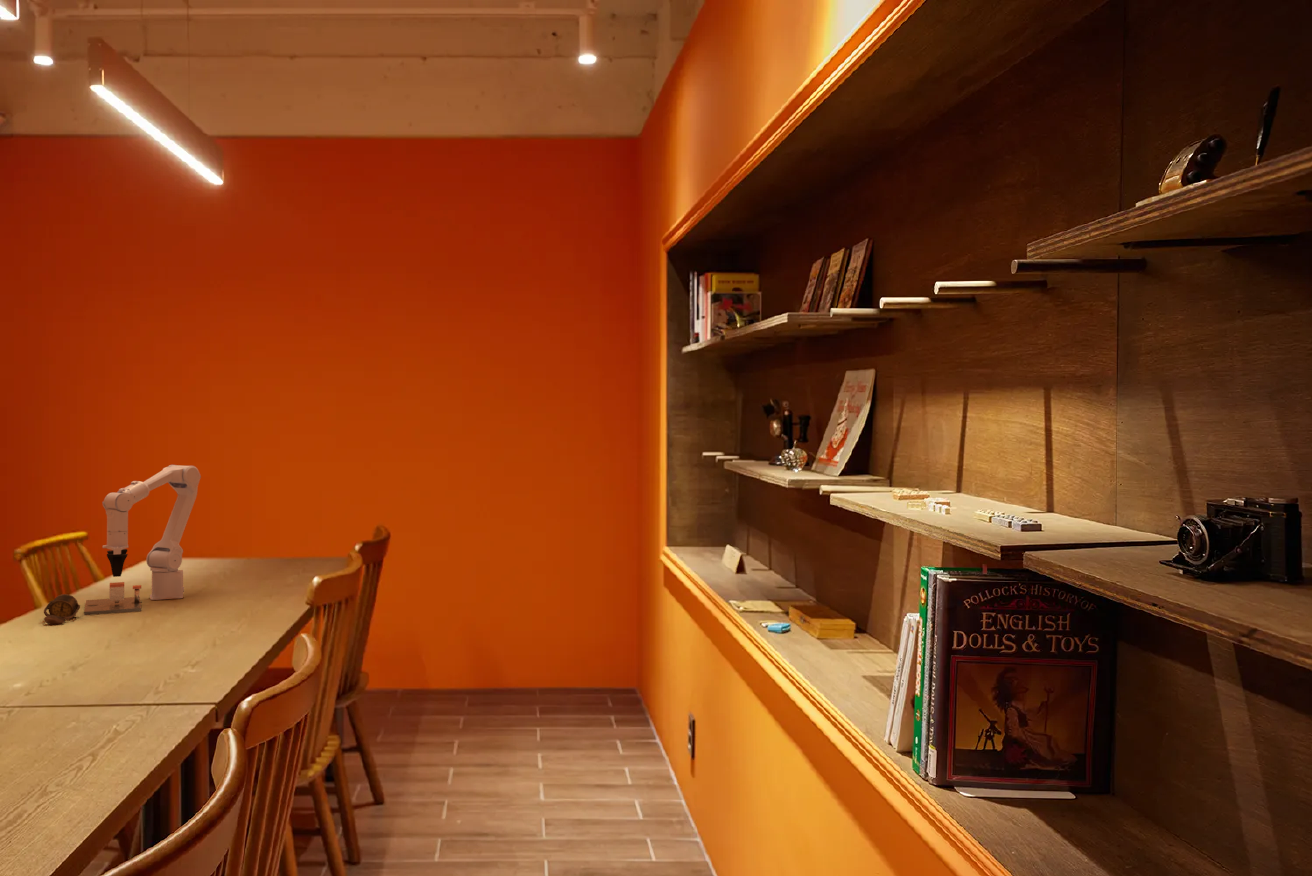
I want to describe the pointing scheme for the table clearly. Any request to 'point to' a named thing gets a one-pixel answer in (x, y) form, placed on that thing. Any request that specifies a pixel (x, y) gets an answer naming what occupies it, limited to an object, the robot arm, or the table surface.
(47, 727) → the table surface
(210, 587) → the table surface
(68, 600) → the dark brown rounded piece
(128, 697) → the table surface
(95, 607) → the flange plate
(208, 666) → the table surface
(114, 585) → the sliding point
